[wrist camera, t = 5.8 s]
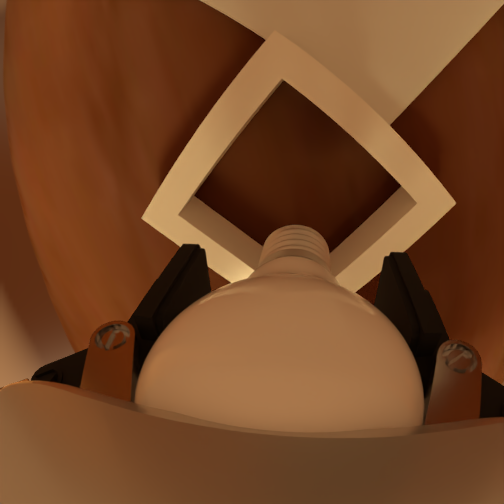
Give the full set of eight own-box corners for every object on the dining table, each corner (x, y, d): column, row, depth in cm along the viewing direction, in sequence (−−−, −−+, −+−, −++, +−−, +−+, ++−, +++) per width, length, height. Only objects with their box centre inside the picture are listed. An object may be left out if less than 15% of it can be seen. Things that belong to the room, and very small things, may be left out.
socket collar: (437, 185, 14) (456, 203, 12) (304, 303, 20) (303, 331, 18) (279, 37, 12) (274, 29, 10) (160, 199, 17) (141, 218, 15)
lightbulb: (198, 198, 13) (16, 446, 3) (354, 155, 11) (502, 477, 1) (250, 316, 15) (190, 543, 6) (380, 291, 13) (419, 544, 4)
